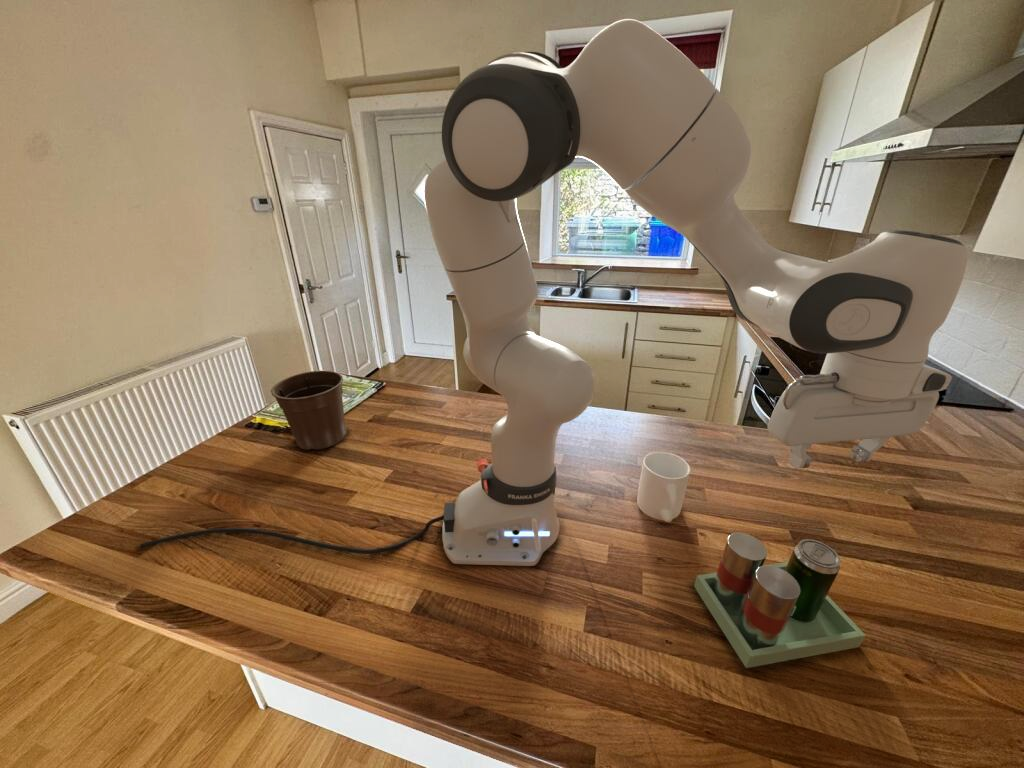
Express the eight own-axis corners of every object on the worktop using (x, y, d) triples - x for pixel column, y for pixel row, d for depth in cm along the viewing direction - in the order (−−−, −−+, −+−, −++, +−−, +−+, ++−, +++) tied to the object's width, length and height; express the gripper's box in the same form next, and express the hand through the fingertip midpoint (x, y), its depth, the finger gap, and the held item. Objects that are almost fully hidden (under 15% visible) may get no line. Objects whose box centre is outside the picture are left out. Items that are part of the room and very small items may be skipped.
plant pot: (275, 442, 104) (257, 386, 97) (331, 416, 116) (319, 365, 109) (310, 464, 96) (293, 405, 89) (366, 433, 108) (356, 379, 101)
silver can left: (723, 618, 60) (742, 562, 55) (703, 588, 65) (720, 534, 59) (754, 613, 61) (776, 557, 56) (732, 584, 65) (751, 530, 60)
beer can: (804, 632, 58) (832, 575, 53) (766, 604, 62) (789, 548, 57) (820, 612, 61) (849, 557, 56) (783, 586, 65) (806, 532, 60)
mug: (644, 534, 76) (652, 489, 71) (632, 491, 86) (639, 450, 82) (691, 537, 75) (702, 492, 70) (673, 493, 86) (682, 452, 81)
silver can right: (750, 659, 55) (774, 602, 50) (726, 624, 59) (746, 567, 54) (783, 653, 56) (811, 595, 50) (757, 618, 60) (780, 562, 55)
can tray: (745, 670, 54) (750, 656, 53) (693, 587, 65) (696, 575, 64) (858, 648, 57) (866, 635, 55) (789, 573, 68) (794, 560, 66)
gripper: (813, 387, 45) (778, 484, 51) (964, 376, 48) (914, 470, 54) (772, 366, 51) (745, 455, 57) (910, 357, 54) (870, 443, 60)
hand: (828, 462), depth 55 cm, fingers open, 8 cm apart
